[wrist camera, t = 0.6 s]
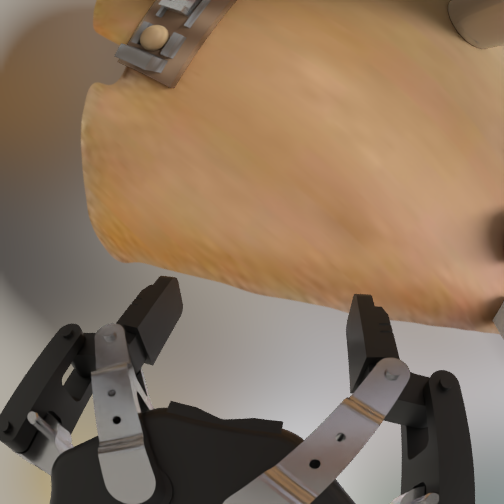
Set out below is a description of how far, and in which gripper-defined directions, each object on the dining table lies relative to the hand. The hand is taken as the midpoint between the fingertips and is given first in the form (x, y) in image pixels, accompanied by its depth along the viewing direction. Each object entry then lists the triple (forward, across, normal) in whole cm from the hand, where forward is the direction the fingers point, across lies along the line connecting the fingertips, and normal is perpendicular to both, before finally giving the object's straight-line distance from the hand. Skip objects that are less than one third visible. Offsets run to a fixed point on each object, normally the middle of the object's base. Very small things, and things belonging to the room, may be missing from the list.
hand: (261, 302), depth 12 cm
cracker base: (+28, +16, -23) cm, 39 cm away
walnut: (+26, +18, -20) cm, 38 cm away
